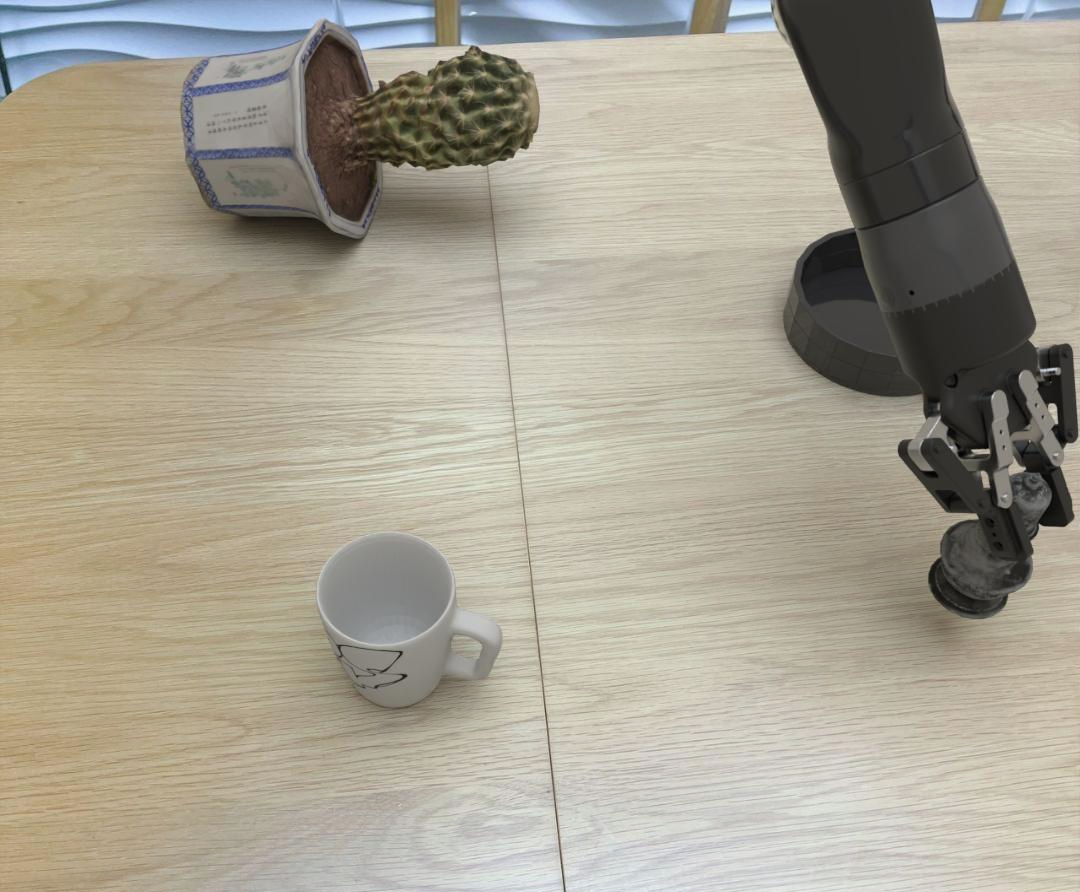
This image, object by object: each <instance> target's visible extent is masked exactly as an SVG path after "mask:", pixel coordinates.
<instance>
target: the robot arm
mask: <svg viewBox="0 0 1080 892" xmlns="http://www.w3.org/2000/svg"><path fill="white" fill-rule="evenodd" d="M769 3H770V10H771V11H770V12H771V16H772V20H773V23H774V27H775V28H776V31H777V32H778V34H779V36H780V37H781V39H782V40H783V41H784V42H785V44H786V45H787V46H788V47H789V48H790V49H791V50H793V53H794V55H795V58H796V61H797V62H798V65H799V67H800V70H801V72H802V75H803V77H804V80H805V83H806V85H807V87H808V90H809V92H810V95H811V97H812V99H813V102H814V104H815V107H816V109H817V111H818V114H819V116H820V118H821V121H822V123H823V126H824V128H825V133H826V145H827V151H828V154H829V159H830V160H829V161H830V163H831V167H832V170H833V174H834V176H835V177H834V178H835V180H836V184H838V188H839V191H840V194H841V196H842V199H843V202H844V204H845V207H846V209H847V213H848V215H849V218H850V220H851V223H852V226H853V227H855V228H856V229H855V231H856V234H857V238H858V241H859V245H860V250H861V255H862V259H863V264H864V267H865V270H866V273H867V276H868V279H869V282H870V284H871V287H872V289H873V292H874V295H875V297H876V300H877V302H878V305H879V308H880V311H881V313H882V316H883V319H884V321H885V324H886V327H887V329H888V332H889V334H890V337H891V340H892V342H893V345H894V348H895V350H896V353H897V356H898V358H899V361H900V364H901V366H902V369H903V371H904V373H905V374H906V375H908V376H909V377H911V378H912V379H913V380H914V381H915V382H917V383H918V385H919V386H920V387H921V390H922V394H921V395H922V412H923V417H924V419H925V421H924V423H923V424H922V426H921V428H920V429H919V431H918V432H917V434H916V435H915V437H914V438H907V439H906V438H904V439H902V440H900V441H899V443H898V446H897V455H898V457H899V458H900V460H901V461H902V462H903V463H904V464H905V465H906V467H907V468H908V469H909V470H910V471H911V472H912V474H913V476H915V477H916V478H917V480H918V481H919V482H920V483H921V484H922V486H923V487H924V488H925V489H926V490H927V492H928V493H929V494H930V495H931V496H932V497H933V499H934V500H935V501H936V502H937V503H938V505H939V506H940V507H941V508H942V509H943V510H944V512H945V513H947V514H969V515H970V514H971V515H972V514H973V515H976V517H977V519H979V521H980V524H981V527H982V529H983V532H984V535H985V536H986V537H985V538H986V540H987V542H988V546H989V548H990V551H991V552H992V553H993V554H994V556H997V557H998V558H999V559H1001V560H1004V561H1018V562H1024V561H1026V560H1027V559H1028V558H1029V557H1030V556H1033V555H1034V553H1035V551H1034V548H1033V547H1034V546H1033V544H1032V541H1030V539H1029V536H1028V533H1027V530H1026V527H1025V525H1024V522H1023V519H1022V516H1021V513H1020V511H1019V508H1018V505H1017V502H1012V501H1013V494H1012V488H1011V483H1010V477H1009V476H1010V472H1009V467H1010V466H1011V465H1013V463H1014V460H1015V461H1016V463H1017V466H1019V467H1021V468H1025V469H1024V470H1023V471H1022V472H1028V473H1040V475H1041V477H1042V478H1043V479H1044V480H1045V481H1046V482H1047V484H1048V485H1049V487H1050V489H1051V492H1052V498H1051V501H1050V504H1049V506H1048V507H1047V509H1046V510H1045V512H1044V513H1043V515H1042V516H1041V518H1040V519H1039V521H1038V522H1039V526H1042V527H1045V528H1046V527H1047V528H1066V527H1067V526H1069V524H1071V523H1072V522H1073V521H1074V520H1075V519H1076V518H1075V513H1074V508H1073V498H1072V495H1071V492H1070V490H1069V487H1068V484H1067V482H1066V481H1067V480H1066V479H1065V476H1064V475H1065V474H1064V473H1063V470H1062V467H1061V466H1062V464H1063V463H1064V460H1065V451H1064V449H1065V448H1066V446H1067V444H1074V443H1076V442H1077V440H1078V438H1079V421H1078V420H1079V419H1078V406H1077V405H1078V404H1077V391H1076V377H1075V362H1074V350H1073V348H1072V346H1071V344H1069V343H1067V342H1066V343H1059V344H1056V343H1055V344H1047V345H1040V346H1036V347H1035V345H1034V343H1032V342H1031V341H1030V339H1031V337H1032V336H1033V335H1034V333H1035V331H1036V328H1037V319H1036V316H1035V312H1034V309H1033V308H1032V307H1033V306H1032V304H1031V300H1030V299H1029V298H1030V297H1029V295H1028V293H1027V289H1026V286H1025V283H1024V280H1023V278H1022V274H1021V272H1020V268H1019V266H1018V263H1017V259H1016V257H1015V253H1014V250H1013V248H1012V245H1011V242H1010V239H1009V235H1008V233H1007V230H1006V227H1005V224H1004V221H1003V218H1002V216H1001V213H1000V211H999V208H998V206H997V204H996V202H995V200H994V198H993V196H992V195H991V193H990V191H989V189H988V186H987V184H986V183H985V180H984V177H983V175H982V172H981V169H980V166H979V163H978V160H977V157H976V154H975V151H974V149H973V145H972V142H971V139H970V137H969V133H968V132H967V128H966V125H965V122H964V119H963V117H962V114H961V113H960V109H959V108H958V105H957V103H956V101H955V99H954V96H953V94H952V93H953V92H952V91H951V87H950V85H949V81H948V77H947V71H946V65H945V59H944V53H943V47H942V42H941V37H940V34H939V33H940V32H939V29H938V24H937V19H936V15H935V11H934V7H933V2H932V0H770V2H769ZM1050 404H1053V405H1054V406H1055V407H1056V416H1057V417H1056V419H1057V423H1056V421H1055V419H1054V417H1053V416H1052V414H1051V412H1050V410H1049V406H1050ZM975 450H989V453H976V452H973V451H975ZM982 472H985V473H986V475H987V478H988V484H989V487H984V483H983V476H982Z"/></svg>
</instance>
